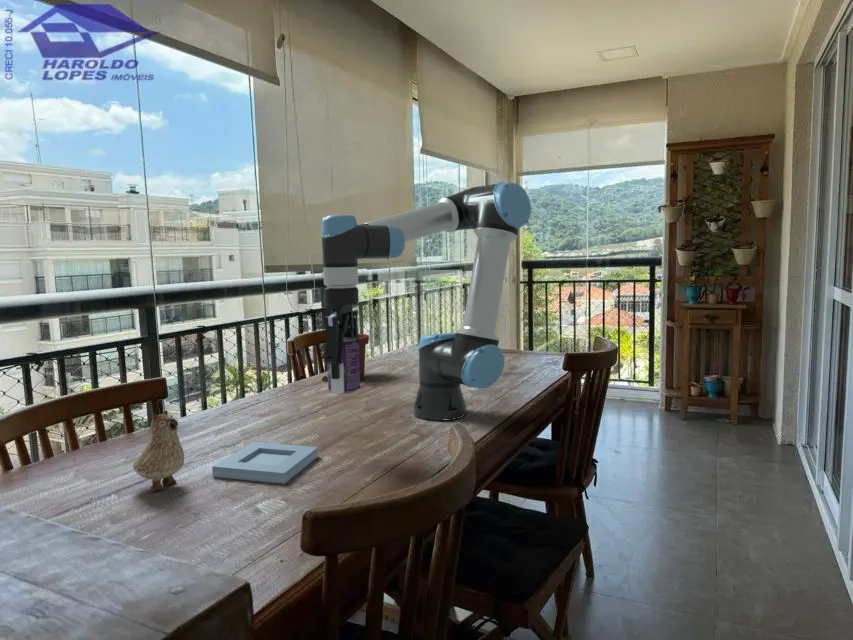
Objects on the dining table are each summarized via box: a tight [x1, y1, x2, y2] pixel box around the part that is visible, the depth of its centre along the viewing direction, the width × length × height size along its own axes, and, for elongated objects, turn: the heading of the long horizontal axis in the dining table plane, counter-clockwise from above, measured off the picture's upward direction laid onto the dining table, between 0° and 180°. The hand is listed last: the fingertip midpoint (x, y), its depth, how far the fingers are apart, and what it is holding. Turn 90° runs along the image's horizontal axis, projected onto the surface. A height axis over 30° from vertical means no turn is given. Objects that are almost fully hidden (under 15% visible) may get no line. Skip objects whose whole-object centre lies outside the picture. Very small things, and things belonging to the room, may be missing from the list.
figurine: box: [132, 410, 185, 493], centre depth 112 cm, size 9×10×15 cm
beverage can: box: [326, 337, 361, 395], centre depth 129 cm, size 7×7×12 cm
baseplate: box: [211, 441, 319, 485], centre depth 123 cm, size 16×16×2 cm
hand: (344, 388), depth 130 cm, fingers closed on beverage can, 7 cm apart
